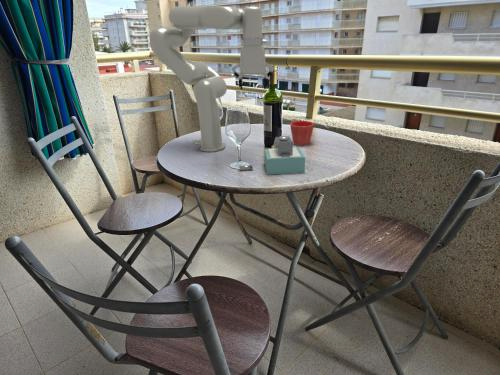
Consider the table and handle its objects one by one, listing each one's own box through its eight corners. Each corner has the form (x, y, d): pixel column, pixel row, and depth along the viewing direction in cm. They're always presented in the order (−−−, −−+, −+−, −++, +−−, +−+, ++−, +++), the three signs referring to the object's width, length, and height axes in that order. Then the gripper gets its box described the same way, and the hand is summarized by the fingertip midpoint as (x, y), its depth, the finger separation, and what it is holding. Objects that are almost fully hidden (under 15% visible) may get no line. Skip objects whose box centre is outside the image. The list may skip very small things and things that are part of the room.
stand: (267, 174, 118) (267, 158, 115) (264, 163, 129) (264, 148, 126) (304, 172, 118) (305, 156, 116) (298, 161, 129) (299, 146, 127)
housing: (274, 148, 126) (274, 133, 124) (288, 147, 126) (288, 132, 124) (278, 157, 116) (278, 141, 114) (293, 156, 116) (293, 140, 114)
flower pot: (313, 146, 146) (314, 126, 142) (289, 146, 148) (289, 126, 144) (312, 140, 156) (313, 120, 152) (290, 140, 158) (290, 120, 154)
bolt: (239, 169, 124) (239, 171, 122) (239, 165, 123) (239, 166, 121) (252, 169, 124) (252, 170, 122) (252, 164, 123) (252, 166, 122)
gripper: (273, 42, 127) (273, 87, 134) (230, 43, 126) (232, 88, 134) (275, 43, 120) (274, 89, 127) (230, 44, 119) (232, 90, 127)
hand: (253, 88), depth 130 cm, fingers open, 9 cm apart
